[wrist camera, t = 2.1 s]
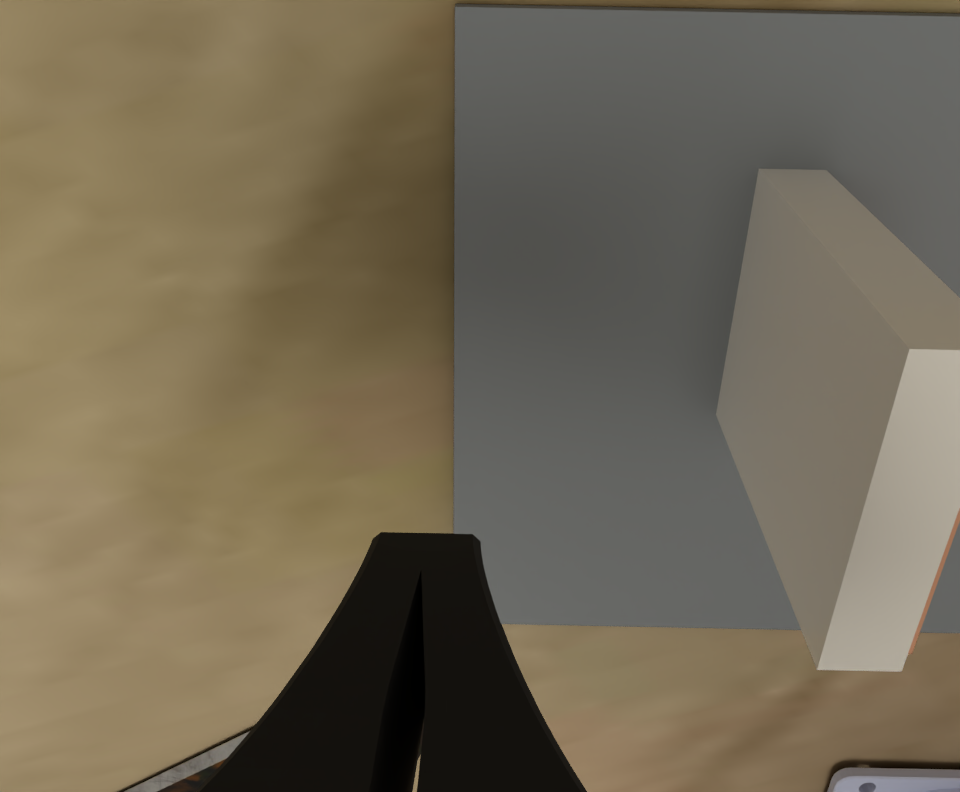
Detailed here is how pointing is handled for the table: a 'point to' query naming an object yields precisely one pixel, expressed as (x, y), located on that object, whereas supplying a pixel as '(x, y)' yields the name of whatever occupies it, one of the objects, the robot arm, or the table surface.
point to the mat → (656, 280)
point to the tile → (844, 416)
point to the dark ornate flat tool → (196, 770)
